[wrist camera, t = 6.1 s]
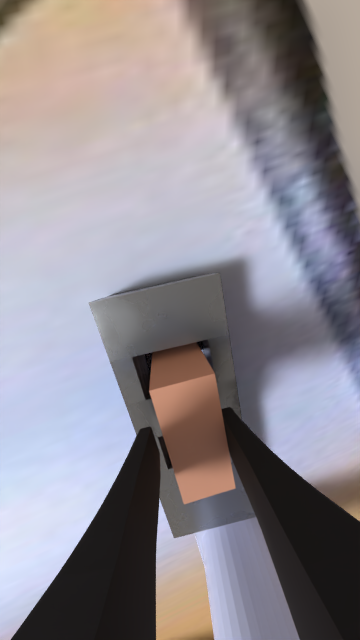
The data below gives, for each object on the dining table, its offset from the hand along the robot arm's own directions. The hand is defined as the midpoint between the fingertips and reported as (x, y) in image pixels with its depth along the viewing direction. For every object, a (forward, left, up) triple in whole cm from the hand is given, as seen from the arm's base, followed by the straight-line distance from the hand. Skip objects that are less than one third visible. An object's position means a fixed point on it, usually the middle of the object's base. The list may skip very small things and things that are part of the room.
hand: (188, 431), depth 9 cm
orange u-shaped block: (0, 0, -4) cm, 5 cm away
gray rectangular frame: (-2, 0, -4) cm, 5 cm away
